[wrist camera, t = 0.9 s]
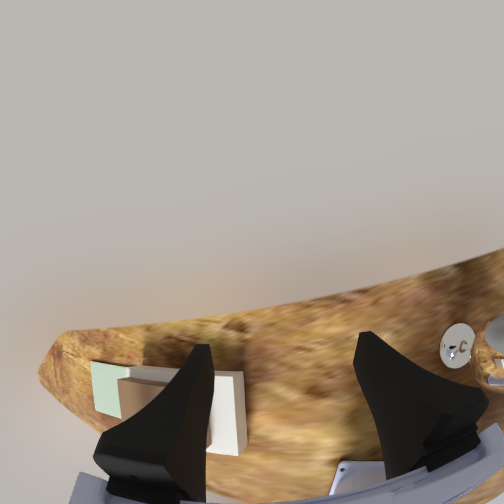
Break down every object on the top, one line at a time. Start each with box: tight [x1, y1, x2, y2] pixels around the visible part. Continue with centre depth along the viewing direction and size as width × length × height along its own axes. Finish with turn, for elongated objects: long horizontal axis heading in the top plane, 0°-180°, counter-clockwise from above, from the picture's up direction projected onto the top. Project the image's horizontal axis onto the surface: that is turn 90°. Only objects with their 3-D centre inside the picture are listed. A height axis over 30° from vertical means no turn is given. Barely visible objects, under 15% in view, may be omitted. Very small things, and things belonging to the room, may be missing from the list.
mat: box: [90, 361, 126, 419], centre depth 27 cm, size 9×7×1 cm
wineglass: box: [439, 311, 504, 394], centre depth 14 cm, size 6×6×12 cm
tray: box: [126, 365, 248, 456], centre depth 24 cm, size 12×8×3 cm, turn 93°
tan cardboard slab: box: [117, 377, 212, 449], centre depth 22 cm, size 9×6×2 cm, turn 93°
